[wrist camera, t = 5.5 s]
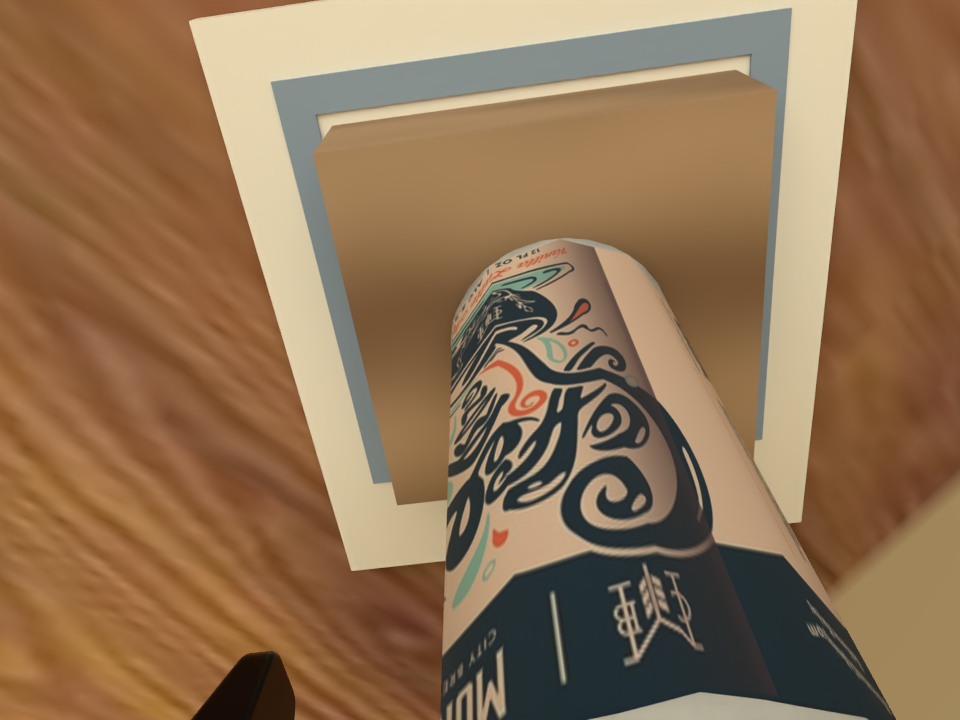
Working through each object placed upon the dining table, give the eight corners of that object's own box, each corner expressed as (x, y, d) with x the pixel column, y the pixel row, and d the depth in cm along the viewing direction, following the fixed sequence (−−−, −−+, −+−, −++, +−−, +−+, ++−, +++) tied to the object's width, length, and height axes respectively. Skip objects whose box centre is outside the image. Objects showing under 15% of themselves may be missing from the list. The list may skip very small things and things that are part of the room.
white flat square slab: (793, 508, 23) (802, 524, 23) (354, 557, 24) (351, 573, 24) (852, -79, 16) (868, -79, 15) (197, 18, 16) (187, 21, 16)
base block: (723, 409, 21) (753, 465, 19) (403, 446, 21) (397, 505, 19) (735, 69, 16) (777, 90, 14) (332, 125, 17) (312, 153, 15)
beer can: (529, 186, 15) (674, 751, 5) (710, 299, 16) (1141, 939, 6) (411, 362, 17) (326, 1038, 7) (581, 450, 18) (734, 1131, 8)
